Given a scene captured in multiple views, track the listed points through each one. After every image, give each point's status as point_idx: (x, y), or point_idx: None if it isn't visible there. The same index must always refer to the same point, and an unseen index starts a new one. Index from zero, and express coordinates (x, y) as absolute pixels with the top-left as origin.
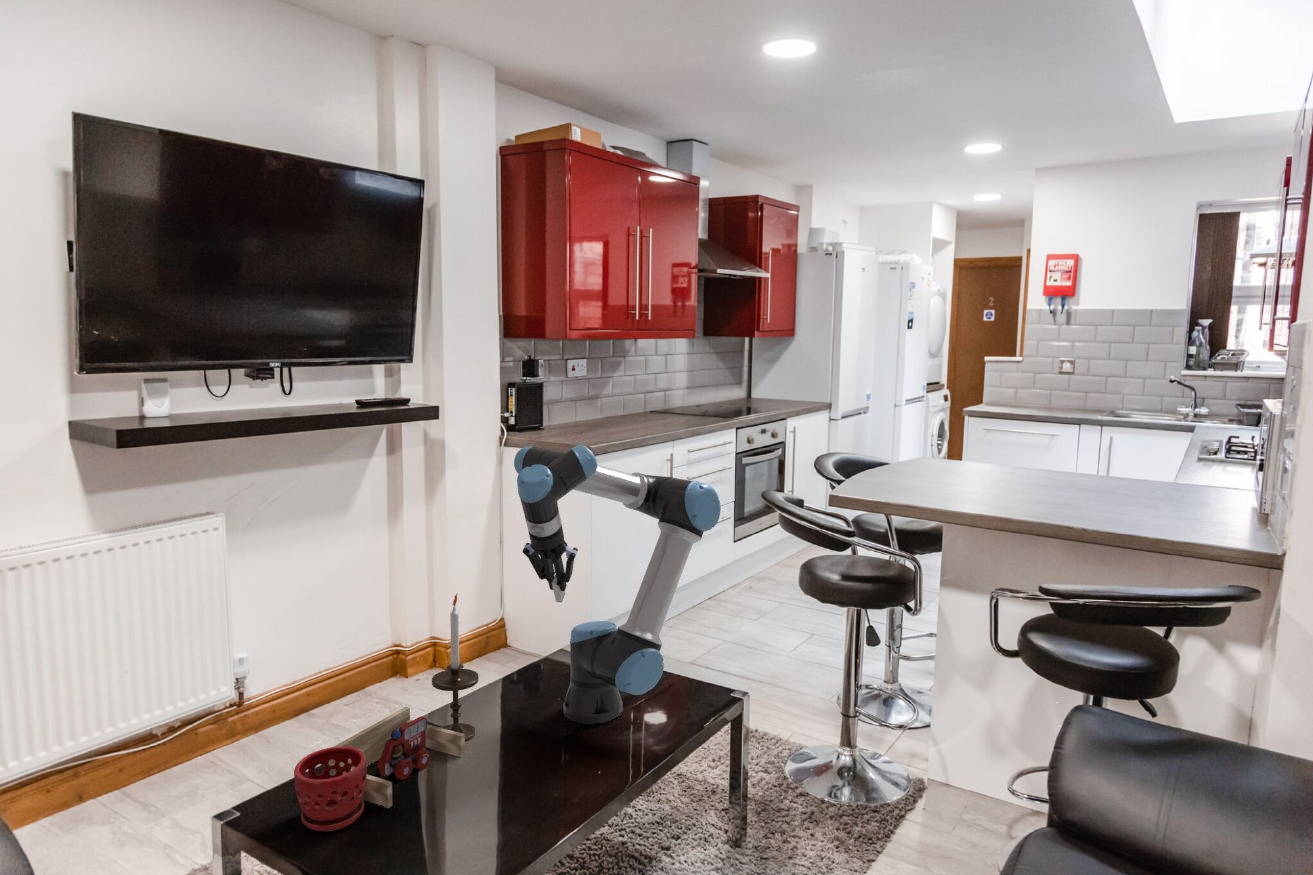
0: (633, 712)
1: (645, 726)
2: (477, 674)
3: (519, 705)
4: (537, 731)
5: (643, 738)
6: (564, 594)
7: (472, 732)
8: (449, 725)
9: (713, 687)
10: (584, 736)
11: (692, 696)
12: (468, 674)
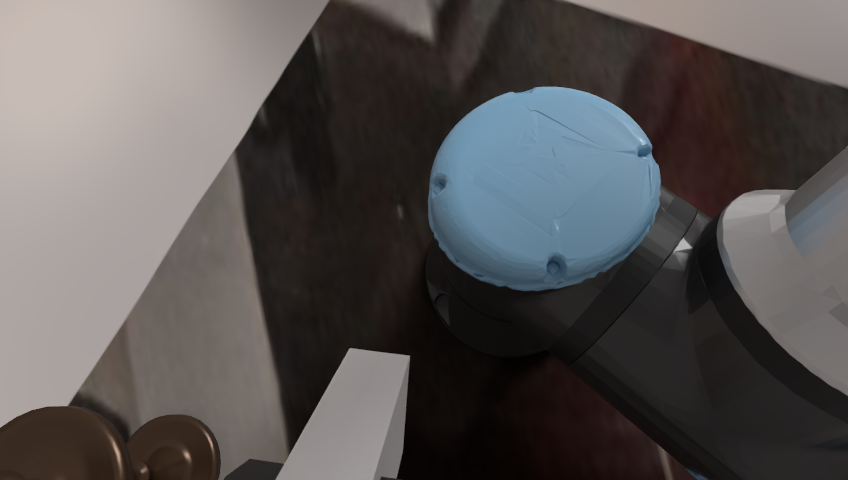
0: None
1: None
2: (116, 454)
3: (303, 267)
4: None
5: None
6: (406, 381)
7: (210, 465)
8: (142, 431)
9: (802, 79)
10: (519, 429)
11: (758, 141)
12: (86, 441)
